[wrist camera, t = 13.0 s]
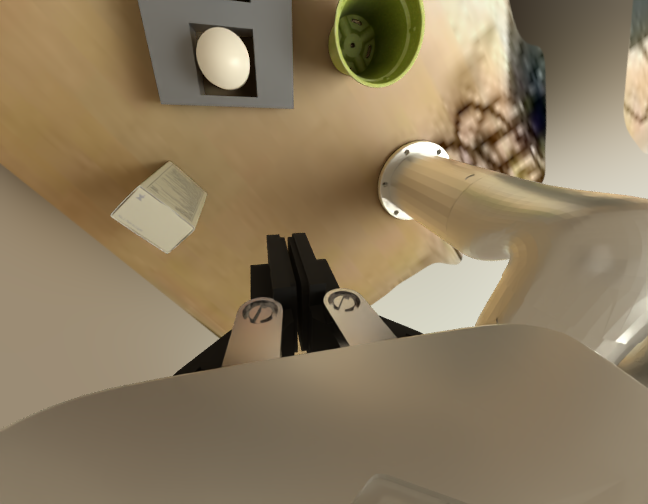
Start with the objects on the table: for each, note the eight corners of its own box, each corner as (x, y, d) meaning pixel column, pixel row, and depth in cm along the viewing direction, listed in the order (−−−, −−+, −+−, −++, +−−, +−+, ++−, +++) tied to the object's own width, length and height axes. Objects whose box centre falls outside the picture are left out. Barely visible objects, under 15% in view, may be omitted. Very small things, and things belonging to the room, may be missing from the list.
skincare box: (147, 181, 35) (104, 214, 25) (170, 158, 34) (136, 182, 24) (188, 215, 38) (166, 256, 28) (210, 194, 37) (196, 229, 27)
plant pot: (396, 9, 33) (439, -18, 25) (375, 97, 37) (407, 96, 29) (323, -17, 30) (347, -57, 22) (309, 81, 34) (326, 75, 27)
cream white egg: (247, 39, 29) (247, 29, 25) (251, 91, 31) (251, 89, 27) (199, 34, 28) (191, 24, 24) (207, 89, 30) (201, 87, 26)
